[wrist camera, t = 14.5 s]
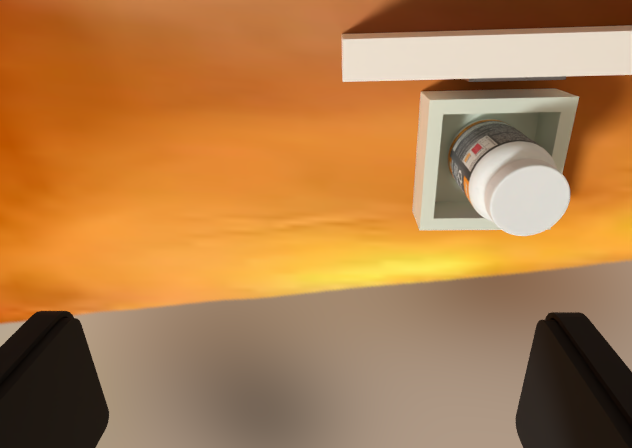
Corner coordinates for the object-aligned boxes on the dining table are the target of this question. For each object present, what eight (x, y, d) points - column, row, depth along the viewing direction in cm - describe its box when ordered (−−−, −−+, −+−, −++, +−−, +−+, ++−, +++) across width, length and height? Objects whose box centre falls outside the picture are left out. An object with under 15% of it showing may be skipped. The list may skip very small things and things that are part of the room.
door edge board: (341, 33, 32) (342, 39, 26) (654, 24, 31) (734, 27, 25) (342, 74, 34) (342, 88, 27) (643, 66, 33) (716, 79, 26)
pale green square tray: (420, 91, 34) (429, 100, 31) (555, 88, 33) (579, 96, 30) (412, 211, 38) (419, 230, 35) (531, 210, 38) (550, 229, 34)
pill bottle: (430, 161, 36) (460, 213, 27) (479, 101, 34) (529, 136, 25) (484, 198, 37) (529, 260, 28) (535, 142, 35) (601, 190, 26)
